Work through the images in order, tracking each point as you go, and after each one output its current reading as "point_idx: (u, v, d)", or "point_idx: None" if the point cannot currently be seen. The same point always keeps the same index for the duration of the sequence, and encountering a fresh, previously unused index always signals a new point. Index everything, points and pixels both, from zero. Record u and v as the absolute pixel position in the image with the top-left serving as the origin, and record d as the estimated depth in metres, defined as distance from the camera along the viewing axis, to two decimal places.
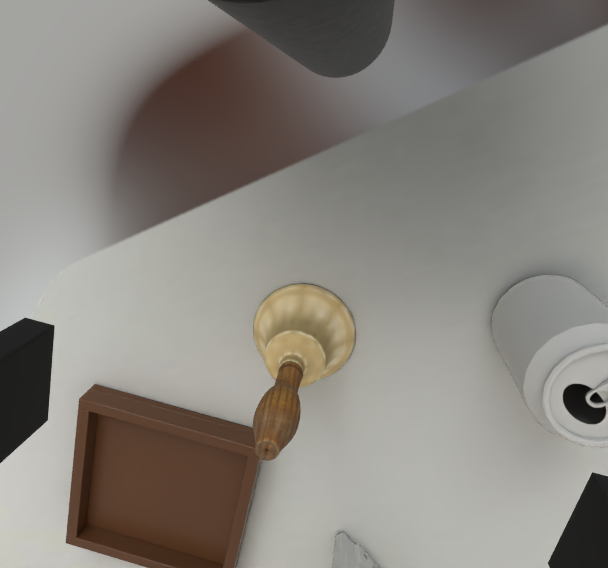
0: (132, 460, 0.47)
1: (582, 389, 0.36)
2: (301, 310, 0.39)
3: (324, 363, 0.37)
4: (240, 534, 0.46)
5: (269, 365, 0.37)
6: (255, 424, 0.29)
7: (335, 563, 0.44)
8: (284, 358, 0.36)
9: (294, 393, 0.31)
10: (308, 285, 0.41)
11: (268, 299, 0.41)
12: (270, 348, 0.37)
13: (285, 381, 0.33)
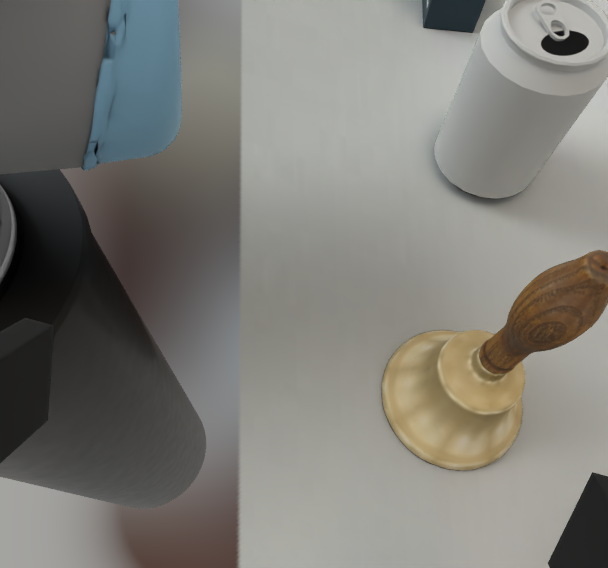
0: None
1: None
2: (416, 366, 0.29)
3: (493, 334, 0.27)
4: None
5: (484, 403, 0.25)
6: (561, 305, 0.18)
7: None
8: (475, 364, 0.25)
9: None
10: (388, 364, 0.31)
11: (393, 420, 0.30)
12: (458, 393, 0.25)
13: (504, 327, 0.22)
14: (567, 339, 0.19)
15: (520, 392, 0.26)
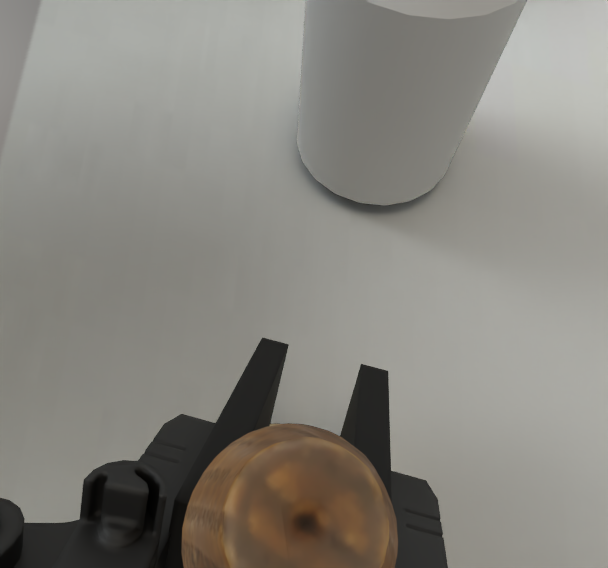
0: None
1: None
2: None
3: None
4: None
5: None
6: None
7: None
8: None
9: None
10: None
11: None
12: None
13: None
14: None
15: None
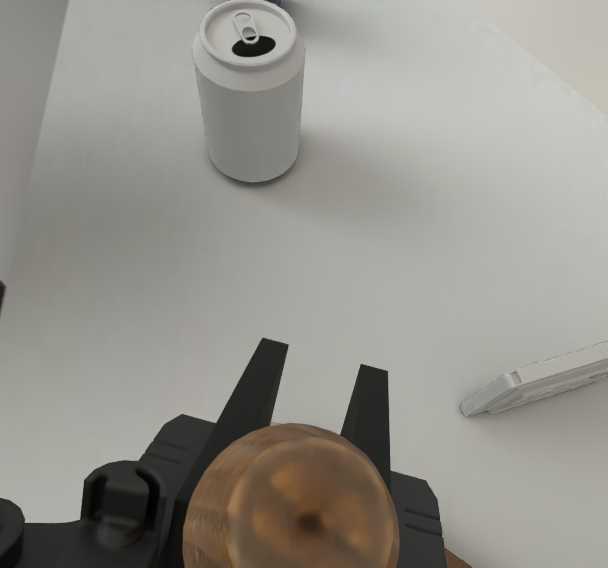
0: None
1: None
2: None
3: None
4: None
5: None
6: None
7: (480, 399, 0.32)
8: None
9: None
10: None
11: None
12: None
13: None
14: None
15: None
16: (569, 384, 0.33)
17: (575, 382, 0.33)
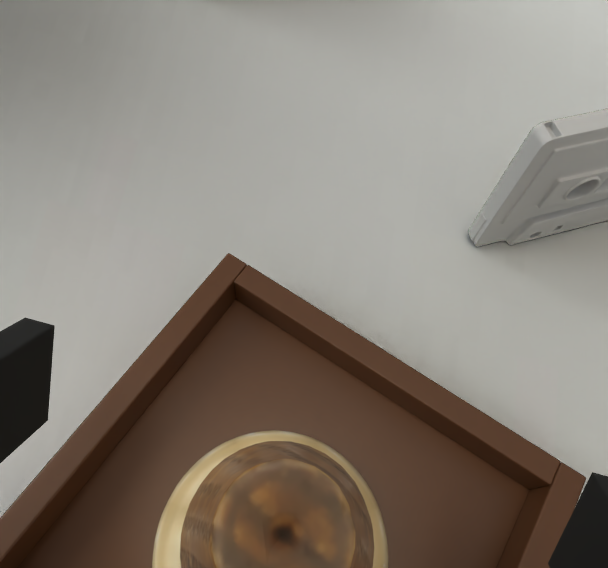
0: None
1: None
2: None
3: None
4: (417, 373, 0.20)
5: None
6: None
7: (497, 200, 0.23)
8: None
9: None
10: (172, 493, 0.19)
11: None
12: None
13: None
14: None
15: None
16: None
17: None
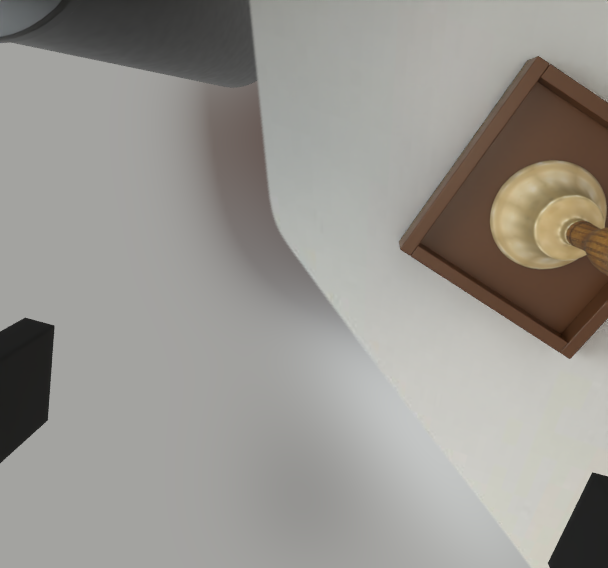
0: None
1: None
2: (520, 206, 0.38)
3: (587, 199, 0.34)
4: None
5: (563, 256, 0.35)
6: None
7: None
8: (562, 235, 0.34)
9: (602, 229, 0.29)
10: (498, 193, 0.39)
11: (496, 237, 0.40)
12: (545, 248, 0.35)
13: (585, 237, 0.30)
14: None
15: None
16: None
17: None
